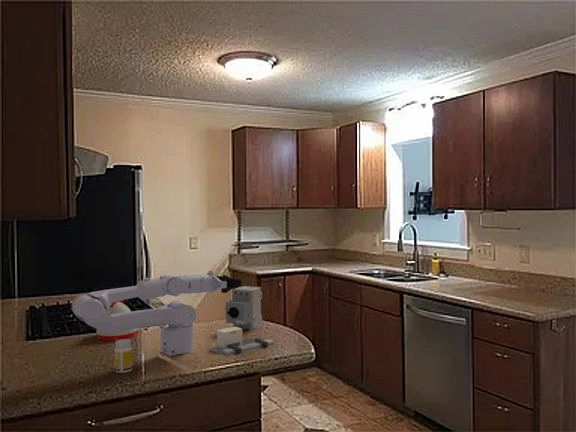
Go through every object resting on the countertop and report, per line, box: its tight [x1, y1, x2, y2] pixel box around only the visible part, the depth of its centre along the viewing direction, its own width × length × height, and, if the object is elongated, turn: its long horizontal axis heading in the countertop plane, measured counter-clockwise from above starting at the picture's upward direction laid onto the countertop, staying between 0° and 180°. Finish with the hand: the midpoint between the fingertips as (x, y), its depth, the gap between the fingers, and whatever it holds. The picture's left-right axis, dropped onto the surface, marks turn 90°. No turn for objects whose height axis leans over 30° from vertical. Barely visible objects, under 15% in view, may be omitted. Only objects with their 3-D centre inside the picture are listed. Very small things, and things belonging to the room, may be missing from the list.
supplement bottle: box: [114, 338, 134, 374], centre depth 147 cm, size 5×5×8 cm
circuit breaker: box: [224, 285, 263, 331], centre depth 189 cm, size 8×14×15 cm, turn 152°
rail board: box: [206, 336, 281, 358], centre depth 166 cm, size 20×12×2 cm, turn 129°
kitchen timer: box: [95, 300, 139, 341], centre depth 185 cm, size 14×14×15 cm
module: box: [216, 326, 244, 349], centre depth 167 cm, size 4×7×5 cm, turn 129°
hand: (234, 281), depth 174 cm, fingers open, 7 cm apart
